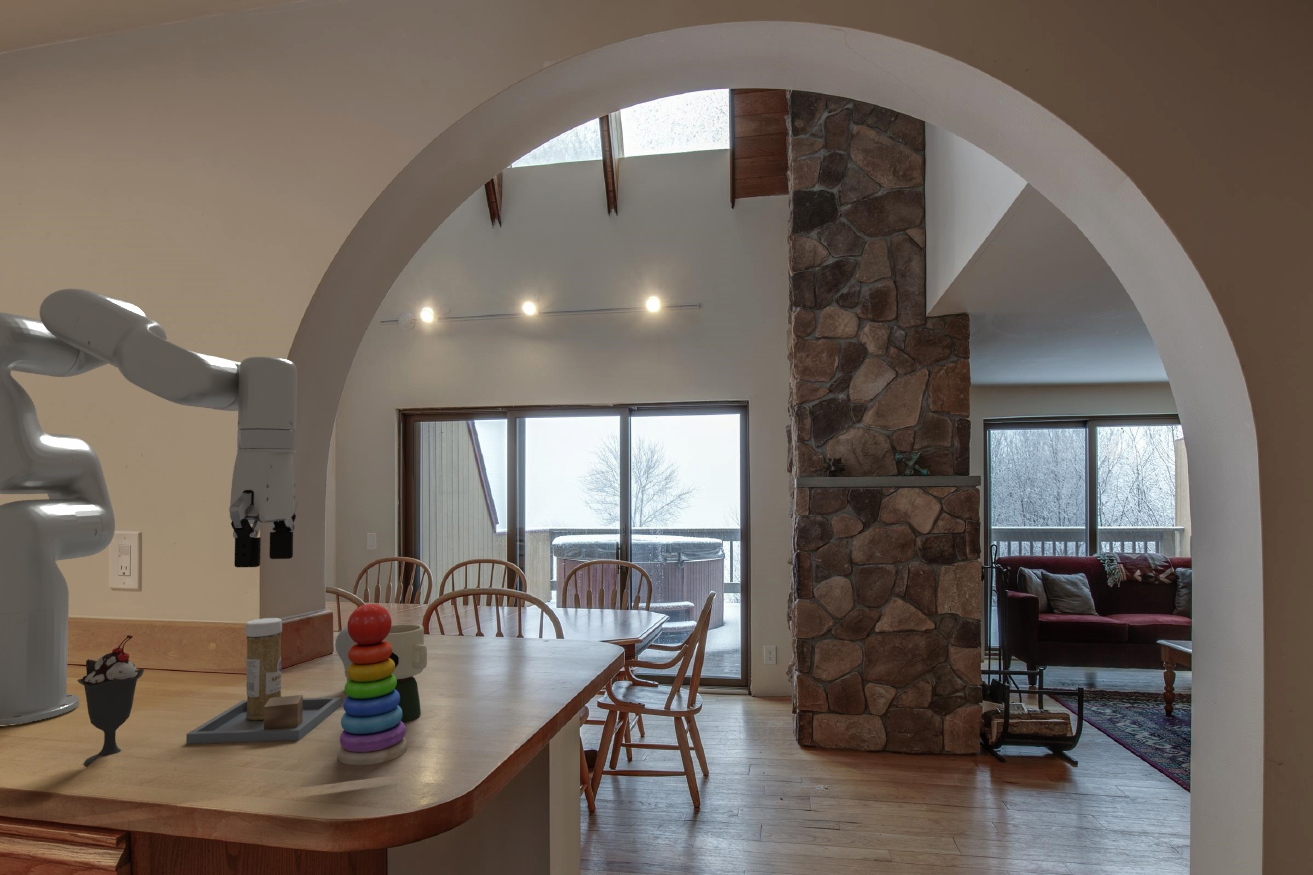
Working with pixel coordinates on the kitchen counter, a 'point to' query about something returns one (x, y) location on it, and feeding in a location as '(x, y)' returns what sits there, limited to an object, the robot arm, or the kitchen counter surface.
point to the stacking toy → (371, 693)
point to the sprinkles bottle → (263, 664)
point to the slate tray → (260, 724)
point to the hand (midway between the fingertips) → (265, 562)
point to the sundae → (110, 695)
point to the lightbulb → (344, 647)
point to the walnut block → (283, 712)
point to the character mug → (408, 665)
